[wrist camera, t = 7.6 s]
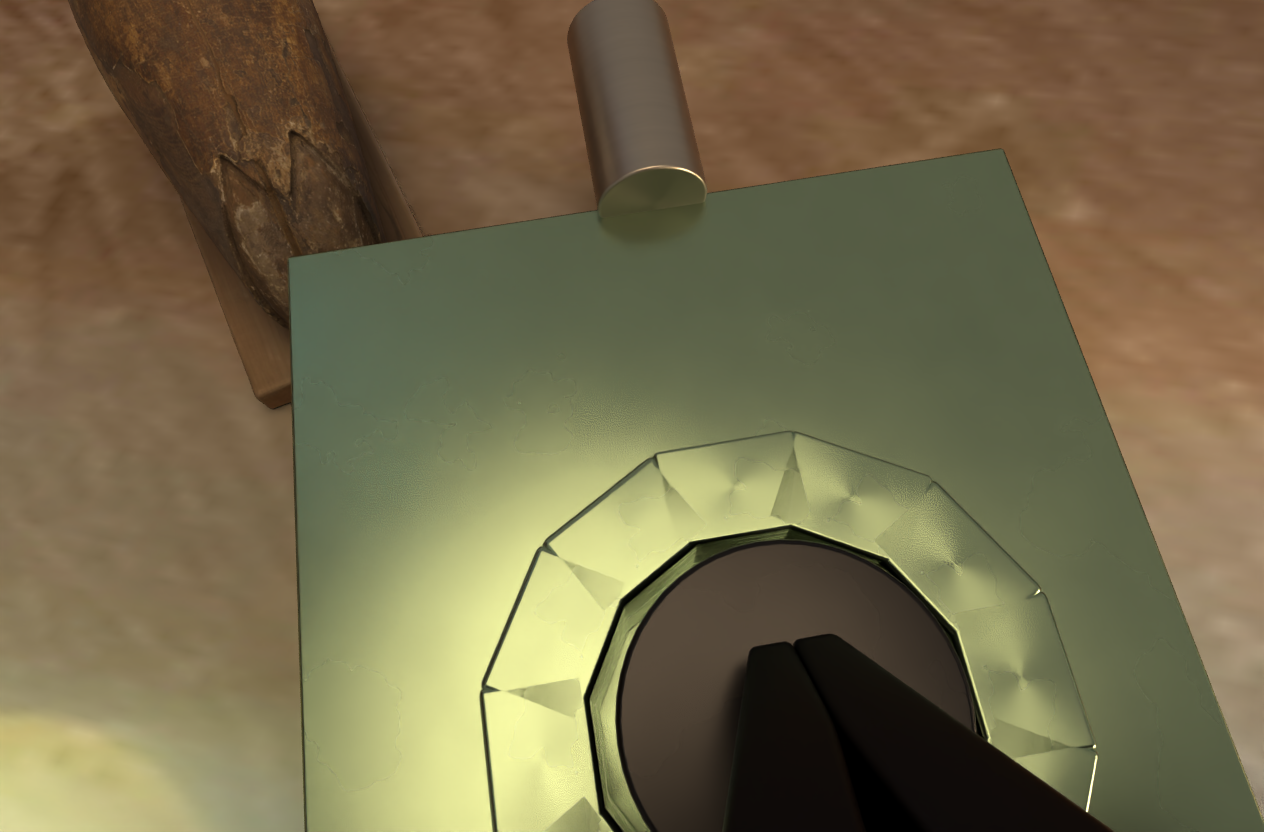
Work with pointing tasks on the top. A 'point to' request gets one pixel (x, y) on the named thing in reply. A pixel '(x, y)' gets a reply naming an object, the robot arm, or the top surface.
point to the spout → (633, 109)
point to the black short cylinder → (718, 653)
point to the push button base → (715, 491)
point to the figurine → (250, 148)
